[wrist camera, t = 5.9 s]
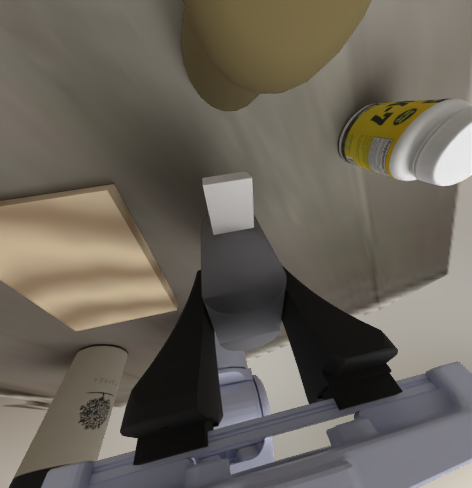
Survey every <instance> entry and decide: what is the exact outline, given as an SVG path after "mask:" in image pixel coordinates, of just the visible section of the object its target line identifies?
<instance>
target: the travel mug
mask: <svg viewBox="0 0 472 488" xmlns="http://www.w3.org/2000/svg"><path fill="white" fill-rule="evenodd" d="M127 356H128V354H127V352H125V351H124V350H123V349H120V348H118V347H114V346H103V345H100V346H93V347H89V348H86V349H83V350H81V351H79V352H78V353H77V354H76V356H75V358H74V360H73V362H72V364H71V366H70V368H69V370H68V372H67V374H66V376H65V378H64V380H63V382H62V384H61V386H60V387H59V389H58V391H57V393H56V395H55V397H54V399H53V401H52V403H51V405H50V407H49V409H48V411H47V413H46V415H45V417H44V419H43V421H42V423H41V425H40V427H39V429H38V431H37V433H36V435H35V437H34V439H33V441H32V443H31V445H30V447H29V449H28V451H27V453H26V455H25V457H24V459H23V461H22V463H21V465H20V467H19V469H18V470H17V473H16V475H15V477H14V479H13V481H12V482H11V484H10V486H9V488H41V487H42V484H43V482H44V480H45V477H46V475H47V473H48V472H49V471H50V470H51V469H54V468H58V467H61V466H65V465H69V464H73V463H77V462H81V461H94V462H95V461H97V459H98V456H99V452H100V449H101V445H102V442H103V438H104V435H105V431H106V428H107V425H108V421H109V418H110V414H111V411H112V408H113V404H114V401H115V397H116V394H117V390H118V387H119V384H120V380H121V377H122V373H123V370H124V366H125V363H126V360H127Z"/></svg>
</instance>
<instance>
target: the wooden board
mask: <svg viewBox="0 0 472 488" xmlns="http://www.w3.org/2000/svg"><path fill="white" fill-rule="evenodd" d="M0 280H1V281H3V282H4V283H6V284H7V285H9V286H10V287H12V288H13V289H14V290H16V291H17V292H19V293H20V294H22V295H23V296H25V297H26V298H28V299H29V300H31V301H32V302H34V303H35V304H37V305H38V306H40V307H41V308H42V309H44V310H45V311H47V312H48V313H50V314H51V315H53V316H54V317H56V318H57V319H59V320H60V321H62V322H63V323H65V324H66V325H67V326H69V327H70V328H72V329H73V330H75V331H80V330H85V329H89V328H94V327H99V326H104V325H109V324H113V323H118V322H123V321H128V320H132V319H137V318H142V317H147V316H152V315H156V314H161V313H166V312H171V311H175V310H177V304H178V301H177V299H176V297H175V295H174V293H173V292H172V290H171V288H170V286H169V284H168V282H167V280H166V279H165V277H164V275H163V273H162V271H161V269H160V267H159V266H158V264H157V262H156V260H155V258H154V256H153V255H152V253H151V251H150V249H149V247H148V245H147V243H146V242H145V240H144V238H143V236H142V234H141V232H140V230H139V229H138V227H137V225H136V223H135V221H134V219H133V218H132V216H131V214H130V212H129V210H128V208H127V206H126V205H125V203H124V201H123V199H122V197H121V195H120V193H119V192H118V190H117V188H116V186H115V184H111V185H105V186H98V187H91V188H85V189H78V190H71V191H65V192H58V193H51V194H45V195H38V196H31V197H24V198H18V199H11V200H4V201H0Z"/></svg>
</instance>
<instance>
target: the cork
mask: <svg viewBox="0 0 472 488" xmlns="http://www.w3.org/2000/svg"><path fill="white" fill-rule="evenodd" d="M183 2H184V5H185V10H184V15H183V22H182V36H181V46H182V53H183V60H184V65H185V68H186V71H187V73H188V76H189V79H190V81H191V83H192V85H193V86H194V88H195V89H196V91H197V92H198V94H199V95H200V97H201V98H203V99H204V100H205V101H206V102H207V103H208V104H210V105H211V106H212V107H215V108H217V109H220V110H223V111H237V110H239V109H241V108H243V107H245V106H248V105H249V104H250V103H251V102H252V101H253V100H254V99H255V98H256V97H257V96H258V95H259V94H267V93H282V92H285V91H287V90H289V89H292V88H294V87H296V86H298V85H301V84H303V83H305V82H307V81H308V80H309V79H311V78H312V77H313V76H314V75H315V74H316V73H317V72H318V71H319V70H320V69H322V68H323V67H324V66H325V65H326V64H327V63H328V62H329V61H330V60H331V59H332V58H333V57H335V56H336V55H337V54H338V53H339V52H340V50H341V49H342V48H343V46H344V45H345V43H346V42H347V40H348V39H349V37H350V36H351V34H352V33H353V32H354V30H355V29H356V27H357V26H358V24H359V23H360V21H361V20H362V19H363V17H364V15H365V13H366V11H367V9H368V6H369V4H370V2H371V0H183Z"/></svg>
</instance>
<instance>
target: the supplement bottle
mask: <svg viewBox="0 0 472 488" xmlns="http://www.w3.org/2000/svg"><path fill="white" fill-rule="evenodd" d="M339 151H340V155H341V157H342V158H343V160H345V161H346V162H348V163H351V164H353V165H356V166H359V167H362V168H365V169H368V170H371V171H374V172H377V173H380V174H383V175H386V176H389V177H392V178H395V179H398V180H403V181H411V180H416V179H418V180H421V181H423V182H428V183H431V184H435V185H439V186H449V185H453V184H456V183H458V182H460V181H462V180H464V179H466V178H468V177H470V176H471V175H472V106H471V105H470V104H469V103H468V102H466V101H464V100H461V99H441V100H420V101H403V102H383V103H374V104H370V105H368V106H366V107H364V108H362V109H361V110H359V111H358V112H357V113H356V114H355V115H353V117H352V118H351V119H350V120H349V121H348V123H347V124H346V126H345V127H344V129H343V132H342V134H341V137H340V141H339Z"/></svg>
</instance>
